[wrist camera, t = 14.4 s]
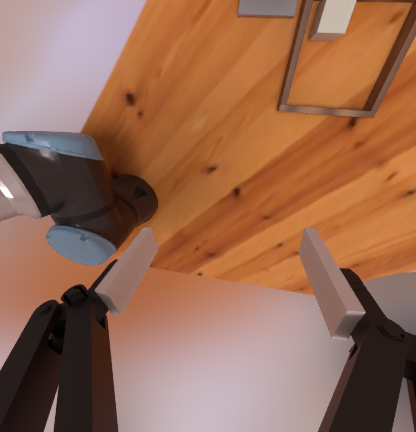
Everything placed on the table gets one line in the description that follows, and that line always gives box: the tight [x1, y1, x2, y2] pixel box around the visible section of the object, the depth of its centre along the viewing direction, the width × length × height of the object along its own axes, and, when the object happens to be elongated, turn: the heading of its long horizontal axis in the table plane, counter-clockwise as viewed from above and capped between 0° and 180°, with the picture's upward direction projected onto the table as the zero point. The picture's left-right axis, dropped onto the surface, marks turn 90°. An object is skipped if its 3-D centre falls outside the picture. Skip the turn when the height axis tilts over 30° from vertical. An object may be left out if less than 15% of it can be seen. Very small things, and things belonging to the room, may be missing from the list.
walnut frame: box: [277, 0, 416, 118], centre depth 30 cm, size 17×16×2 cm
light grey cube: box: [309, 0, 356, 41], centre depth 27 cm, size 4×4×4 cm
